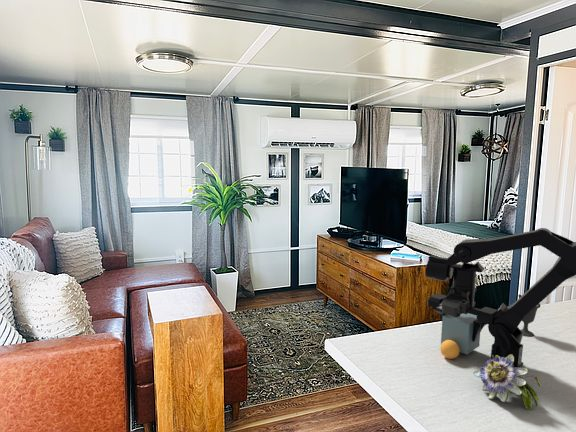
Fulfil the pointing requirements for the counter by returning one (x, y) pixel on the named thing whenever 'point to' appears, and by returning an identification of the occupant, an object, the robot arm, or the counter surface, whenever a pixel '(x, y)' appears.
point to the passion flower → (506, 380)
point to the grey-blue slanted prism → (460, 331)
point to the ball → (450, 349)
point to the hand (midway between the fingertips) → (459, 336)
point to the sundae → (529, 320)
